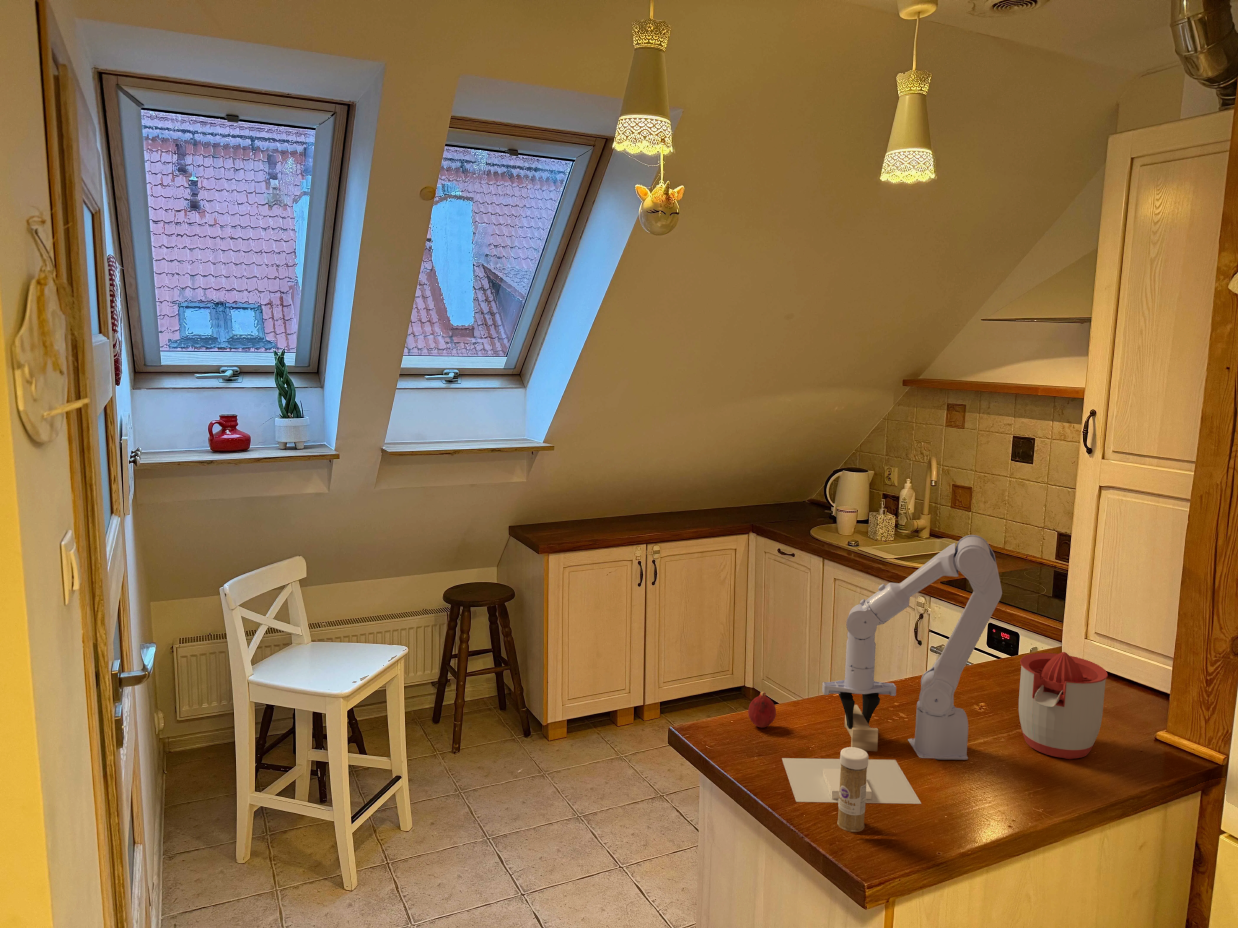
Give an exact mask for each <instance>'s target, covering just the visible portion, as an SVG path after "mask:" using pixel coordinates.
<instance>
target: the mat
mask: <svg viewBox="0 0 1238 928" xmlns="http://www.w3.org/2000/svg"><path fill="white" fill-rule="evenodd" d="M781 760H782V764H783V767H784V769H785V772H786V775H787V778H788V782H789V784H790V787H791V792H792V794H793V796H794V799H795V802H796V803H837V804H838V801H839V799H832V798H831V795H830V793H829V791H828V788H827V786H826V783H825V781H824V778H823V769H841V763H840V758H803V757H802V758H793V757H792V758H790V757H782V758H781ZM866 781H867V783H868V785H869V787H870V789H871V791H872V798H871V799H866V801H865V804H900V805H901V804H904V805H905V804H906V805H907V804H911V805H912V804H913V805H922V802H921V800H920V799H919V797H918V795H917V794H916V792H915V791H914V789H913V787H912V785H911V783H910V782H909V780H908V779H907V777H906V775H905V774H904V772H903V770H902V769H901V767H900V765H899V763H898V762H897V760H896V759H869V758H868V767H867V775H866Z"/></svg>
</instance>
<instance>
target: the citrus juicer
mask: <svg viewBox="0 0 1238 928" xmlns="http://www.w3.org/2000/svg"><path fill="white" fill-rule="evenodd" d="M1019 663H1020V667H1021V668H1020V681H1019V693H1018V695H1019V696H1018V716H1019V717H1018V718H1019V722H1020V727H1021V732H1022V735H1023V737H1024V742H1026V744H1027V745H1028V746H1029V747H1030V748H1031V749H1034V750H1036V751H1037V752H1039V753H1042V754H1044V755H1047V756H1050V757H1055V758H1060V759H1061V758H1062V759H1065V760H1073V759H1079V758H1083V757H1086V756H1087V755H1088V754H1089V753H1090V751H1092V748H1093V747H1094V745H1095V741H1096V740H1097V737H1098V736H1099V733H1100V729H1101V725H1102V720H1103V712H1104V699H1105V691H1106V690H1105V689H1106V681H1107V680H1106V679H1107V678H1108V676H1109V675H1108V672H1107V671H1106V669H1105V668H1104V667H1103V666H1101V665H1099V664H1097V663H1095V662H1093V661H1090V660H1089V659H1088V660H1087V659H1085V658H1081V657H1077V656H1073V655H1069V653H1067V652H1065V651H1062V652H1060V653H1051V652H1049V653H1048V652H1036V653H1031V654H1025V655H1024V656H1022V657H1021V658H1020V661H1019Z"/></svg>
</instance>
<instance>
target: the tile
mask: <svg viewBox="0 0 1238 928" xmlns="http://www.w3.org/2000/svg"><path fill="white" fill-rule="evenodd" d="M840 772H841V769H823V778H824V781H825V783H826V786H827V788H828V791H829V793H830V795H831V798H832V799H839V789H840ZM871 798H872V791H871V789H870V787H869V785H868V783H867V781H866V799H871Z"/></svg>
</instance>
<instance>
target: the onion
mask: <svg viewBox="0 0 1238 928" xmlns="http://www.w3.org/2000/svg"><path fill="white" fill-rule="evenodd" d="M776 710H777V709H776V706H775V703H774V702H773V700H772V699H770V698H769V697H768V696H767V695H766V692H765V691H760V693H759V695H758V696H756V697H754V698H753V699H752V700H751V702H750V703H749V706H748V711H747V714H748V717H749V719H750V721H751V722H752V724H753V725H755V727H758V728H760V729H764V728H766V727H768V726H770V725H771V724H772V723H773V722H774V721H775V720H776V717H777V711H776Z"/></svg>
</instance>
